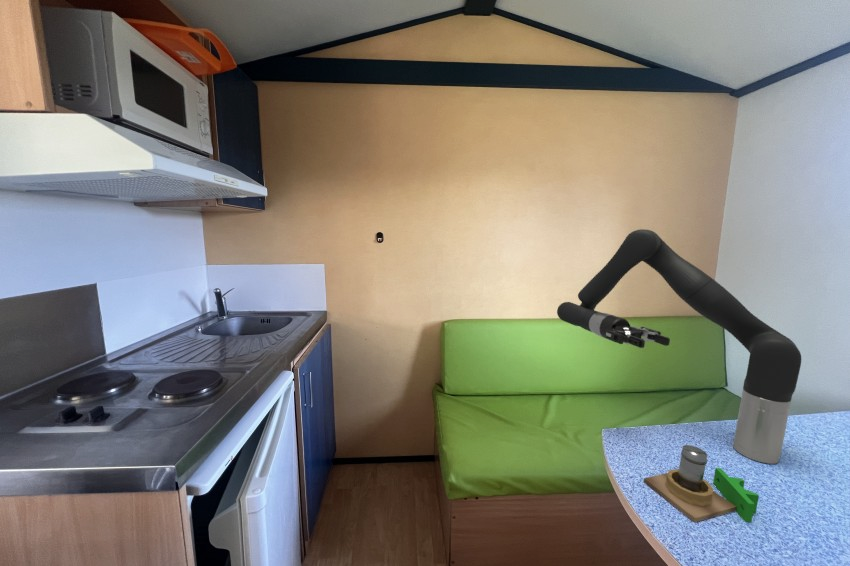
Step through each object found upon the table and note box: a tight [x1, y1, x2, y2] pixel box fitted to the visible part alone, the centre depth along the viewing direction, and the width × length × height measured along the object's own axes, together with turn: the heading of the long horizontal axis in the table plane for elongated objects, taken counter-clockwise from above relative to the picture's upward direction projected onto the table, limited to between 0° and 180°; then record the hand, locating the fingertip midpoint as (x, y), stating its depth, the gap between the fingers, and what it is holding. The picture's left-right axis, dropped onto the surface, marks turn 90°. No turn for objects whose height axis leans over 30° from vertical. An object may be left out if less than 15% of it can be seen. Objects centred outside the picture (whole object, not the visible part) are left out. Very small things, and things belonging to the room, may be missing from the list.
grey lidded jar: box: [676, 444, 709, 493], centre depth 78 cm, size 5×5×10 cm
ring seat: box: [643, 468, 736, 523], centre depth 79 cm, size 12×12×4 cm
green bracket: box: [712, 467, 760, 524], centre depth 77 cm, size 11×4×5 cm, turn 168°
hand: (656, 343), depth 92 cm, fingers open, 8 cm apart
